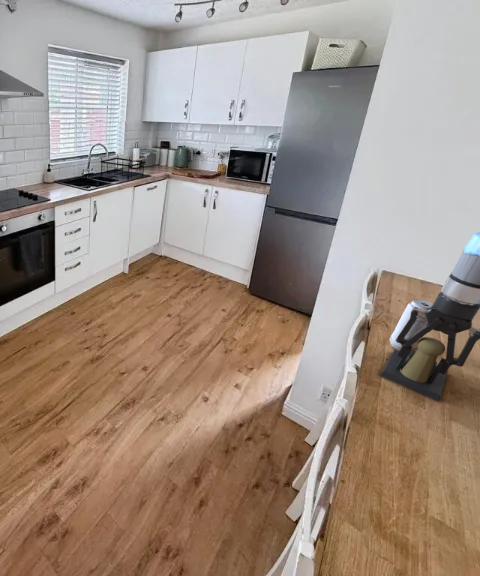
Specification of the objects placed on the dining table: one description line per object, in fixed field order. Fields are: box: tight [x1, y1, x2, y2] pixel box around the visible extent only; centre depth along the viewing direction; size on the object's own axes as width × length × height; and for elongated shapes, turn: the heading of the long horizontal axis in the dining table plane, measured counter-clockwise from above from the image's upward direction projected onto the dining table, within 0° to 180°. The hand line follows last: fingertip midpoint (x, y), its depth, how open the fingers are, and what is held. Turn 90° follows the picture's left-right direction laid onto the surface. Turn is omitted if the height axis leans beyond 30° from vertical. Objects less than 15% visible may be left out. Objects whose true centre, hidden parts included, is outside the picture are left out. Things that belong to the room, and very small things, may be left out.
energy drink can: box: [389, 298, 433, 351], centre depth 107 cm, size 6×6×15 cm
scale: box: [380, 348, 449, 402], centre depth 98 cm, size 15×12×4 cm
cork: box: [400, 336, 446, 383], centre depth 94 cm, size 6×6×11 cm
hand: (414, 373), depth 96 cm, fingers closed on cork, 6 cm apart
